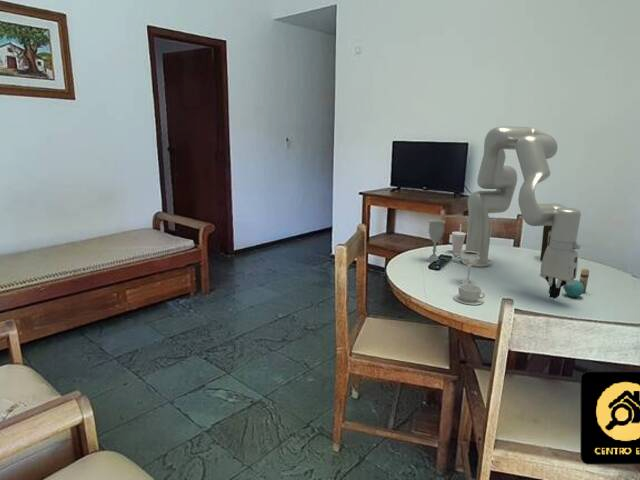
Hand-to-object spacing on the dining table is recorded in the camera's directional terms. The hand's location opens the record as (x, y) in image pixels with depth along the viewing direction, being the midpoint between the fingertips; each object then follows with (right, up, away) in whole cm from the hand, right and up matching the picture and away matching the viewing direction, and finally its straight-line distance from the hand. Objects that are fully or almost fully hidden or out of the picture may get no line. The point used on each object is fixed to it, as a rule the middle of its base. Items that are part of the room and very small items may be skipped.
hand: (553, 297), depth 145 cm
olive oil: (+24, +10, +46) cm, 52 cm away
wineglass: (-23, +3, +17) cm, 29 cm away
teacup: (-29, -1, +1) cm, 29 cm away
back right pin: (+15, +1, +9) cm, 18 cm away
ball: (+10, +3, +4) cm, 11 cm away
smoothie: (-15, +13, +56) cm, 60 cm away
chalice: (-29, +10, +43) cm, 53 cm away
